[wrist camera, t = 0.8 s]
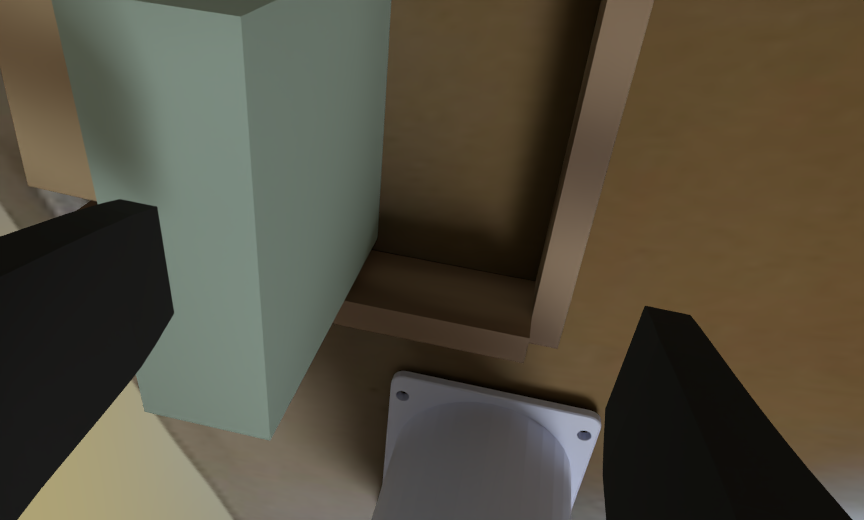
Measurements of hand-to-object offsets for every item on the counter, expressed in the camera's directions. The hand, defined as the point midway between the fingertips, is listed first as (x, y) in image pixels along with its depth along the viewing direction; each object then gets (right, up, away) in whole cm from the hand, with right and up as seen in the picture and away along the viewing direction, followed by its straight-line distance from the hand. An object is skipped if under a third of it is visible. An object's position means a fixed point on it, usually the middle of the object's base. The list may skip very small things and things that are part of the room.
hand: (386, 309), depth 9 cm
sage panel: (-2, +6, +10) cm, 11 cm away
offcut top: (-10, +6, +9) cm, 14 cm away
